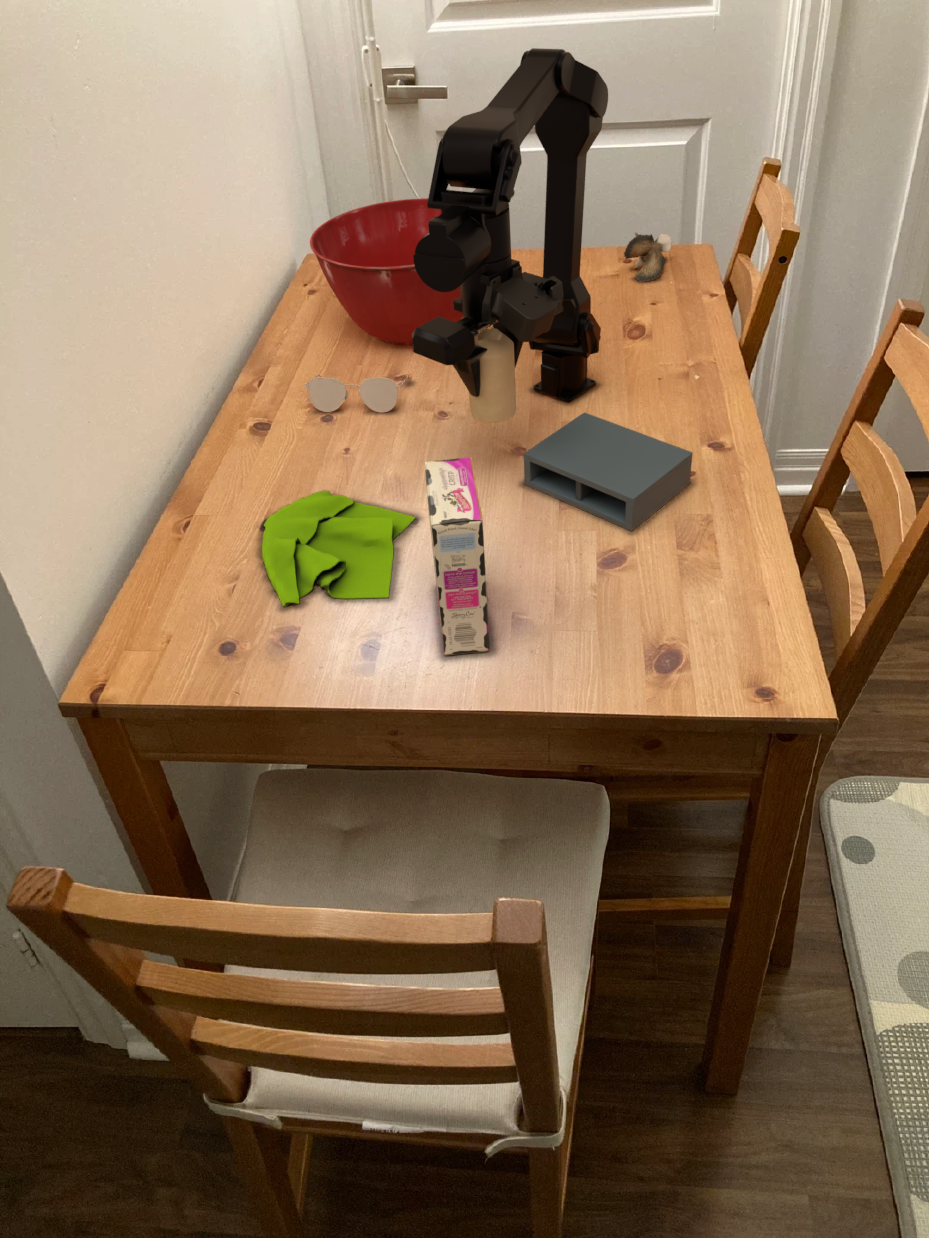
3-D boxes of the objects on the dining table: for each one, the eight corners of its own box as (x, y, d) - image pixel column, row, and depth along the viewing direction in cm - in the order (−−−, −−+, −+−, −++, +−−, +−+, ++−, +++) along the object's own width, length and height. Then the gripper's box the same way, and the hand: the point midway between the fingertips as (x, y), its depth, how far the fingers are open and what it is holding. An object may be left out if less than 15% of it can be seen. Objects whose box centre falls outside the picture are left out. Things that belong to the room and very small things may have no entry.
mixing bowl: (290, 331, 158) (271, 235, 147) (424, 275, 171) (415, 183, 161) (402, 387, 141) (389, 283, 131) (540, 320, 155) (538, 221, 144)
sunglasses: (306, 412, 138) (301, 377, 135) (322, 391, 145) (317, 358, 142) (403, 412, 136) (400, 377, 133) (414, 392, 143) (411, 358, 140)
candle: (512, 425, 114) (508, 346, 107) (466, 423, 115) (459, 344, 109) (520, 401, 118) (517, 323, 111) (475, 399, 119) (470, 322, 113)
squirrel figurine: (621, 252, 170) (612, 263, 162) (646, 216, 166) (638, 226, 158) (656, 279, 170) (649, 291, 163) (682, 244, 166) (676, 254, 159)
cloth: (318, 482, 124) (315, 466, 122) (458, 534, 114) (457, 517, 112) (200, 570, 112) (195, 553, 110) (346, 636, 102) (342, 619, 100)
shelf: (583, 442, 127) (584, 412, 124) (689, 484, 118) (693, 452, 115) (524, 484, 120) (523, 453, 117) (631, 531, 112) (633, 499, 109)
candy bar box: (493, 652, 98) (484, 520, 88) (444, 658, 98) (428, 526, 87) (482, 582, 107) (472, 454, 96) (436, 587, 107) (421, 459, 96)
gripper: (480, 303, 95) (489, 442, 105) (598, 241, 104) (596, 374, 115) (401, 277, 101) (416, 410, 111) (520, 220, 110) (524, 348, 121)
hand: (491, 385), depth 114 cm, fingers closed on candle, 5 cm apart
